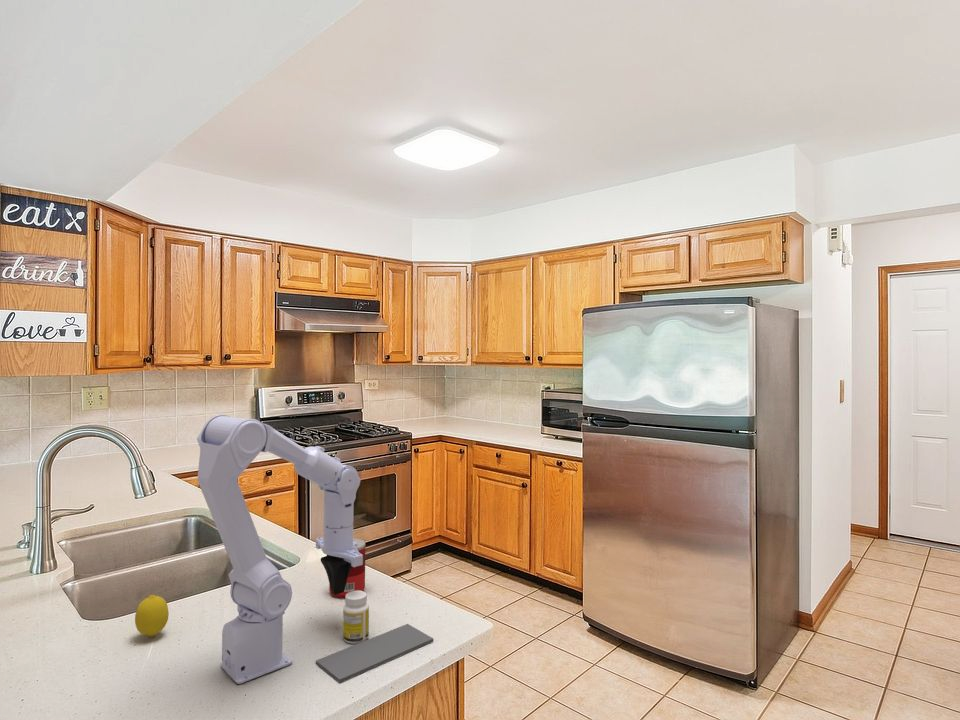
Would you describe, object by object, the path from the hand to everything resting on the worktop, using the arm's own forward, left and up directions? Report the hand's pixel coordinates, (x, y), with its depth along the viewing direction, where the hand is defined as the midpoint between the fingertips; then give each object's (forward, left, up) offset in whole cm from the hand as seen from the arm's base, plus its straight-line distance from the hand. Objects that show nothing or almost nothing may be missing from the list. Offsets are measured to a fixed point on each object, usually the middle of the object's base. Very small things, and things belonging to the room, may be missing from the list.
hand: (337, 592), depth 115 cm
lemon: (-28, +20, -7) cm, 35 cm away
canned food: (+10, +13, -7) cm, 18 cm away
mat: (0, -14, -7) cm, 15 cm away
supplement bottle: (0, -7, -7) cm, 10 cm away
